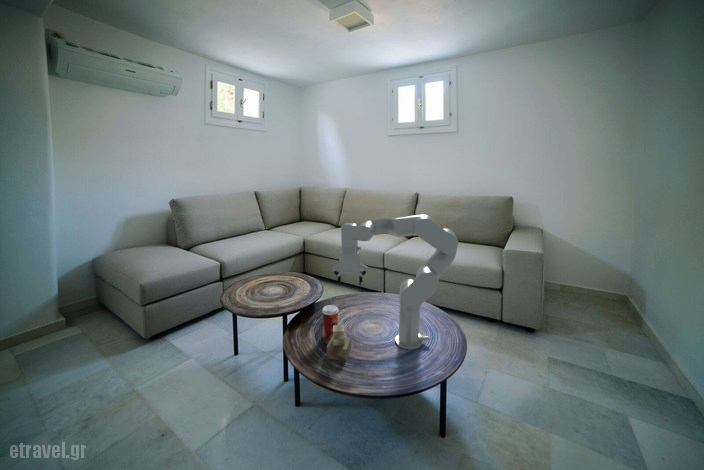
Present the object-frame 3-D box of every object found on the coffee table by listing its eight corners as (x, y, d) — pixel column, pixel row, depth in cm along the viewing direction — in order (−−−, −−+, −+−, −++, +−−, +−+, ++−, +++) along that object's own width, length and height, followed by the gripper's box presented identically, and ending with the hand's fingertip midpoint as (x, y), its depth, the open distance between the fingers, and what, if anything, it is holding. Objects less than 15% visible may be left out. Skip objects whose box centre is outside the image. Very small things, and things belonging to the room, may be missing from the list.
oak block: (344, 338, 139) (344, 325, 137) (344, 345, 134) (344, 331, 132) (333, 339, 139) (333, 325, 137) (333, 345, 134) (332, 331, 132)
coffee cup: (337, 340, 148) (336, 312, 144) (320, 339, 149) (319, 311, 146) (341, 331, 156) (340, 305, 152) (325, 330, 157) (324, 303, 154)
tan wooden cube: (350, 349, 141) (350, 338, 140) (346, 361, 132) (346, 349, 131) (332, 347, 143) (332, 335, 142) (326, 358, 134) (326, 347, 133)
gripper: (367, 247, 144) (367, 280, 148) (331, 247, 144) (332, 280, 148) (368, 251, 137) (368, 286, 141) (330, 252, 137) (331, 287, 141)
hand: (350, 283), depth 144 cm, fingers open, 9 cm apart
